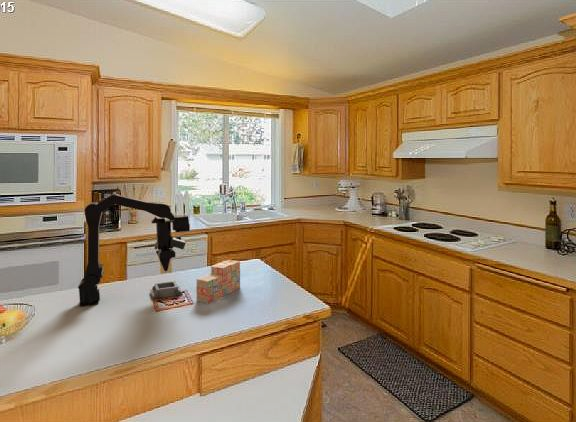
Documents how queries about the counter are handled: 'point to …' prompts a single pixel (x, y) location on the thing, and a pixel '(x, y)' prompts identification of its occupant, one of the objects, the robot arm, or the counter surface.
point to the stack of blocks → (219, 281)
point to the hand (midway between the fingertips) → (165, 269)
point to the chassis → (165, 290)
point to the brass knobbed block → (163, 268)
